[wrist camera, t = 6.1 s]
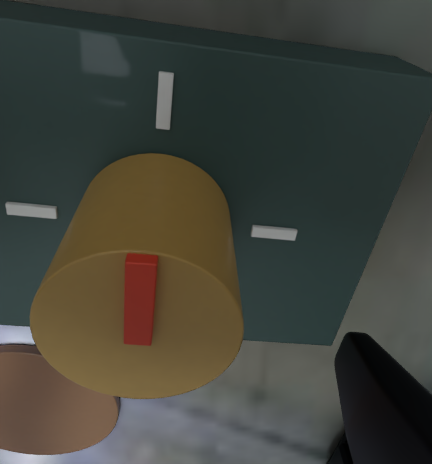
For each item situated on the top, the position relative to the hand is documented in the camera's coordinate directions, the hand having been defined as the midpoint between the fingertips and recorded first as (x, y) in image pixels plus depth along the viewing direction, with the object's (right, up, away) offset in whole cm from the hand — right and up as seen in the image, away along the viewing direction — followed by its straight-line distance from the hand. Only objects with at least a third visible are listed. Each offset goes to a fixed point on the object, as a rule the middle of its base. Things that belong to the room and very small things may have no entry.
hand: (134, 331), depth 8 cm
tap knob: (0, +2, +4) cm, 5 cm away
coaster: (-8, -7, +13) cm, 17 cm away
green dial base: (0, +4, +6) cm, 8 cm away
